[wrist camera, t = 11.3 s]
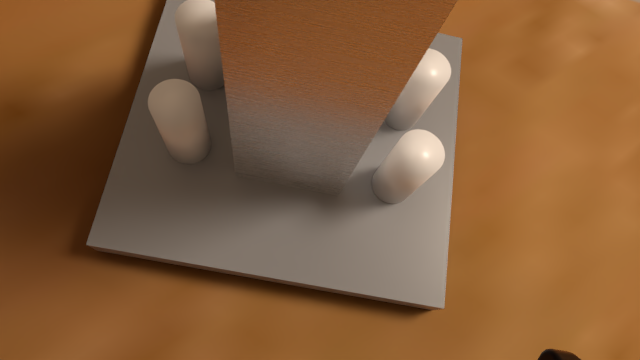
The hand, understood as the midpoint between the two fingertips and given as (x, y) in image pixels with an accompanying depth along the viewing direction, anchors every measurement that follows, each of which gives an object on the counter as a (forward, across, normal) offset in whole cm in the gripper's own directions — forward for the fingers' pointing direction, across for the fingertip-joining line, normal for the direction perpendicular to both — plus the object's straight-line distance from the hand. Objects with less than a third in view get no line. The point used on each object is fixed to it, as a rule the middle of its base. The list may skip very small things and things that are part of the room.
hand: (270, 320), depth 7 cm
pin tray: (+13, 0, +2) cm, 13 cm away
